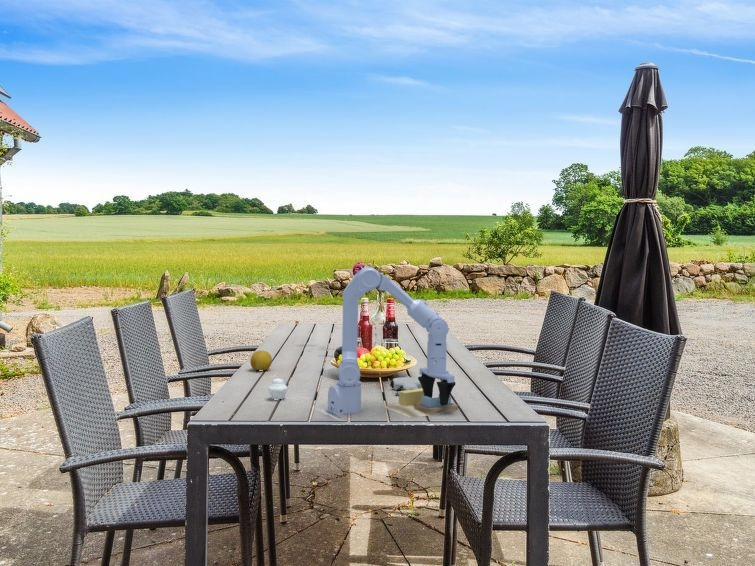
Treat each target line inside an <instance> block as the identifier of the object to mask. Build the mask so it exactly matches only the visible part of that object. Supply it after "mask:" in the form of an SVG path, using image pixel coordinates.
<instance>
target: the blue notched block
mask: <svg viewBox="0 0 755 566" xmlns="http://www.w3.org/2000/svg"><path fill="white" fill-rule="evenodd" d="M451 403H452V396H451V395H450V397H449V400H448V404H447V405H443V406H448V405H451ZM422 406H425V407H427V408H436V407H442V405H441V404H440V393H438V397H432V398H430V397H427V396H422Z"/></svg>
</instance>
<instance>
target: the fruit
mask: <svg viewBox="0 0 755 566" xmlns="http://www.w3.org/2000/svg"><path fill="white" fill-rule="evenodd" d="M272 363H273V360H272V355H271V354H270V352H269V351H266V350H256V351H255V352H253V353H252V355H251V357H250V366H251V368H252V370H254V371H256V370H265V371H267V370H269V369H270V368H271V365H272Z"/></svg>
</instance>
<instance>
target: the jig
mask: <svg viewBox="0 0 755 566" xmlns="http://www.w3.org/2000/svg"><path fill="white" fill-rule="evenodd" d="M381 407H382V408H385V409H387V410H390V411H391V412H395V413H397V414H399V415H402V416H405V417H407V418H410V419H413V418H415V419H416V418H420V417H421V418H422V417H425V416H426V417H427V416H433V415H437V414H438V415H439V414H444V413H449V412H455V411H456V412H457V411H460V409H459V404H456V403H453V402H451V405H448V406H442V407H436V408H427V407H425V406H422V403H418V404H414V405H409V406H402V405H400V404H399V403H396V404H395V403H394V404H389V405H388V404H387V405H381Z"/></svg>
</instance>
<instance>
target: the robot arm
mask: <svg viewBox="0 0 755 566" xmlns="http://www.w3.org/2000/svg"><path fill="white" fill-rule="evenodd" d="M375 289H377V290H379V291H383V292H387V293H388V294H389V295H391V296H392V297H393V298H395V299H396V300H397V301H398V302H399V303H401V304H402V305H403V306H405V307H406V310H407V311H406V312H407V315H408V316H409V317H410V318H411V319H413V320H414V321H415V322H416V323H417V324H419V325H420V326H421V327H422V328H424V329H425V330H426V332H427V333H428V334H427V350H426V351H427V352H426V353H427V355H426V356H427V357H426V367H419V375H420V376H418V377H417V378H418V380H419V382H420V384H421V386H422V389H423V393H424V396H427V397H430V398H433V392H434V385H435V383H436V385H437V389H438V391H439V392H438V394H440V404H441V405H442V406H443V405H447V404H448V400H449V397H450V396H451V393H452V391H453V389H454V387H455V386H456V382H455V375H453V374H451V373H449V370H447V346H448V345H447V335H448V333H449V330H450V328H449V325H448V323H447V320H445V319H443V318H442V317H441V316H440V314H439V312H437V311H436V312H435V311H434V310H433V309H431V307H429V306H428V302H427V301H425V300H423V301H422V300H421V299H414V298H412V297H411V296H410V295H409V294H407V293H406V291H404V289H402V287H400V286H399V285H398V284H397V283H396V282H394V281H393V280H392V279H391V278H390V277H388V276H386V275H385V274H383V273H381V272H380V271H378V270H377V269H376V268H374V267H372V266H371V267H370V266H365V267H362V268H361V269H360V270H358V271H357V272H355V274H354V276H353V277H352V278H351V280H350V281H349V283H348V284H347V285H346V287H345V288H344V290H343V293H342V331H341V332H342V334H341V335H342V338H341V339H342V340H341V341H342V342H341V360H340V363H339V365H338V378H339V379H338V380H337V382H336V384H335V385H332V386H330V387H329V388H328V391H327V392H328V393H327V411H326V413H327V414H329V415H331V416H333V417H336V418H338V419H342V417H341V415H347V414H348V415H349V414H357V413H360V412H361V411H362V381H361V380H360V379H361V371H360V365H359V363H358V335H359V334H358V333H359V332H358V331H359V330H358V328H359V327H358V326H359V320H358V319H359V299H360V298H361V297H363V296H364V295H365V294H366V293H367V292H370V291H372V290H375ZM436 379H437V380H440V381H436ZM339 415H340V416H339Z"/></svg>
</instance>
